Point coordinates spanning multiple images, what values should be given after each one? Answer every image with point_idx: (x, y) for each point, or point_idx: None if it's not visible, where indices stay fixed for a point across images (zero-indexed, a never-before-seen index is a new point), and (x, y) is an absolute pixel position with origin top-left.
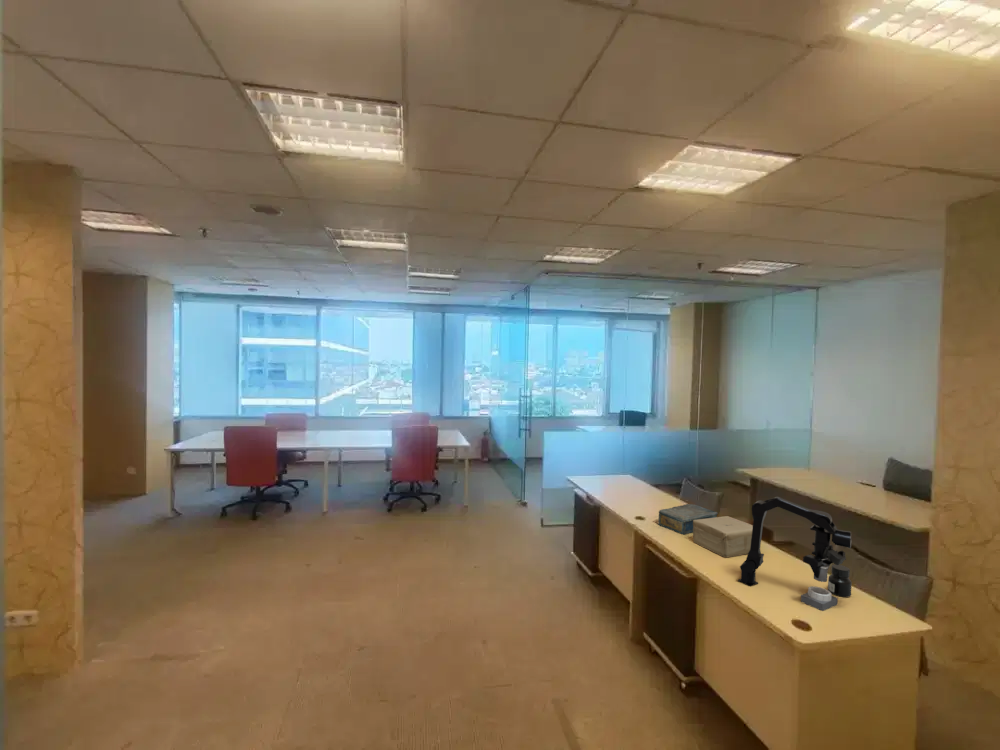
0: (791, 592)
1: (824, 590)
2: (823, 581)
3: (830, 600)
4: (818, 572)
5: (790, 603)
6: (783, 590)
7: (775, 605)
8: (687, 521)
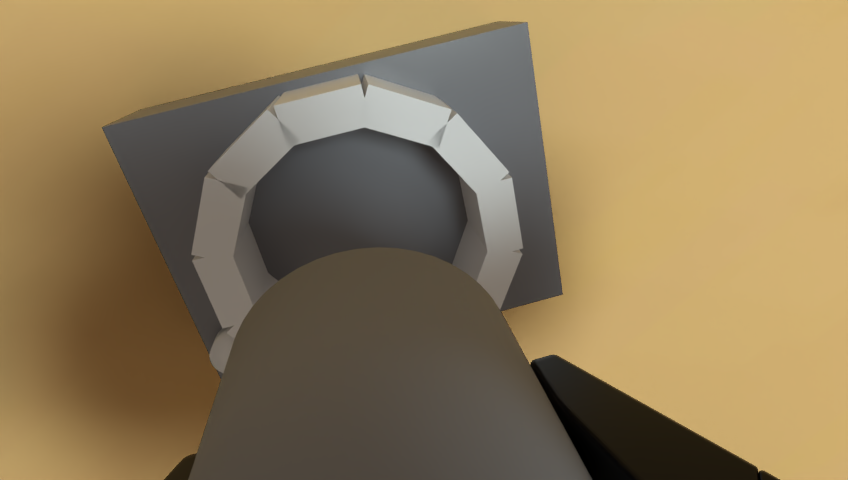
0: None
1: (243, 268)
2: (433, 258)
3: (300, 88)
4: (728, 460)
5: (672, 248)
6: None
7: (843, 242)
8: None
